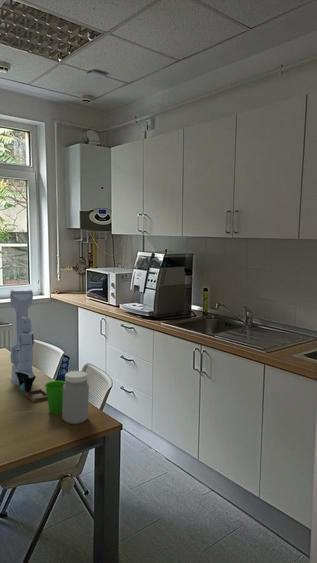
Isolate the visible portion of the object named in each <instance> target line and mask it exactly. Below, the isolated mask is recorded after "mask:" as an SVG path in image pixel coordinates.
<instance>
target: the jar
mask: <svg viewBox="0 0 317 563" xmlns="http://www.w3.org/2000/svg"><path fill="white" fill-rule="evenodd" d="M64 382H65V384H64V386H63V408H62V412H61V414H62V415H61V416H62V420H63V421H64V422H65V423H66V424H70V425H79V424H82V423H84V422H85V421H87V420H88V416H89V395H90V394H89V391H90V390H89V388H90V386H89V384H88V373H87V372H86V371H84V370H70V371H68V372H65V374H64Z"/></svg>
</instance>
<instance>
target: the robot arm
mask: <svg viewBox="0 0 317 563" xmlns="http://www.w3.org/2000/svg"><path fill="white" fill-rule="evenodd" d="M9 293H10V294H9V295H10V296H9V299H10V308H13V309H14V310H15V316H16V317H15V318H16V319H15V320H16V324H15V325H16V343H15V344H13V345H12V346H11V348H10V363H11V378H9V380H10V381H11V382H12V383H13V384H14V385H15V386H16V385H17V386H18V385H19V387H20V386H21V385H22V384H23V383H24V386H25V392H30V391H31V390H32V388H33V384H34V381H35V380H36V378H37V376H36V375H35V373H34V370H33V369H34V368H33V360H34V351H33V345H34V344H35V343H34V342H35V335H34V331H33V329H32V320H31V319H30V317H29V308H31V305H33V304H32V303H33V297H34V293H33V289H31V288H30V289H11V290H10V292H9Z"/></svg>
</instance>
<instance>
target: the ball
mask: <svg viewBox="0 0 317 563" xmlns="http://www.w3.org/2000/svg"><path fill="white" fill-rule="evenodd" d="M19 387H20V391H22V392H25V386H24V383H23V384H22V385H21V386H20V385H19Z"/></svg>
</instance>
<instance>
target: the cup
mask: <svg viewBox="0 0 317 563" xmlns="http://www.w3.org/2000/svg"><path fill="white" fill-rule="evenodd" d="M64 384H65V380H51V381H48V382H46V383H45V384H44V387H45V391H46V392H47V399H48V400H47V405H48V411H49V412H50V414H55V415H56V414H62V408H63V386H64Z"/></svg>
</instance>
